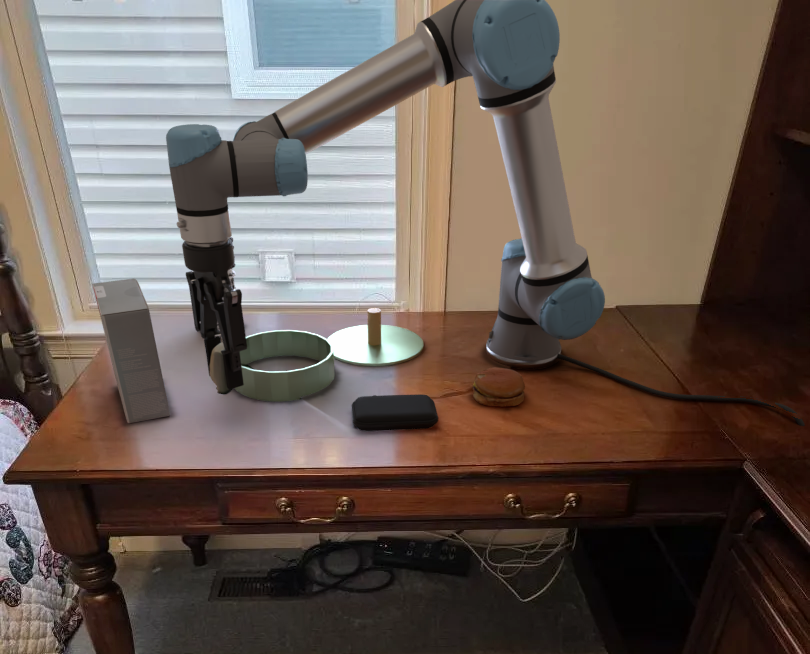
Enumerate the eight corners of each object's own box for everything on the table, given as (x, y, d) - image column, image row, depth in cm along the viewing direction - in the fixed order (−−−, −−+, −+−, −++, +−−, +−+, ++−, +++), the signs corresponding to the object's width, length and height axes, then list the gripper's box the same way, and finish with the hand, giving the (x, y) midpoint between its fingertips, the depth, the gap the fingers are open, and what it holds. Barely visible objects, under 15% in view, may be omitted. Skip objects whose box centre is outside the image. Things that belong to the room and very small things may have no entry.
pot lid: (443, 351, 157) (445, 312, 152) (366, 378, 146) (365, 338, 141) (381, 322, 169) (381, 286, 164) (306, 345, 158) (303, 307, 153)
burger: (532, 405, 137) (535, 381, 134) (485, 412, 135) (487, 388, 132) (509, 382, 145) (511, 359, 142) (464, 389, 142) (465, 366, 140)
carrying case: (432, 403, 137) (351, 405, 136) (432, 387, 136) (350, 390, 135) (439, 431, 129) (353, 435, 128) (440, 416, 127) (352, 419, 126)
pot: (355, 381, 145) (354, 353, 141) (267, 412, 134) (264, 382, 131) (297, 349, 157) (295, 322, 153) (213, 375, 146) (209, 347, 143)
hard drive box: (116, 387, 141) (91, 282, 130) (158, 380, 144) (137, 276, 132) (126, 424, 130) (100, 313, 118) (171, 416, 132) (150, 306, 121)
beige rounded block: (245, 394, 127) (239, 349, 122) (213, 397, 125) (206, 352, 121) (241, 379, 131) (235, 336, 126) (210, 383, 130) (204, 339, 125)
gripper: (156, 231, 118) (180, 368, 131) (214, 259, 106) (234, 406, 120) (199, 223, 122) (218, 357, 135) (260, 249, 110) (274, 393, 124)
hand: (226, 380), depth 128 cm, fingers closed on beige rounded block, 5 cm apart
